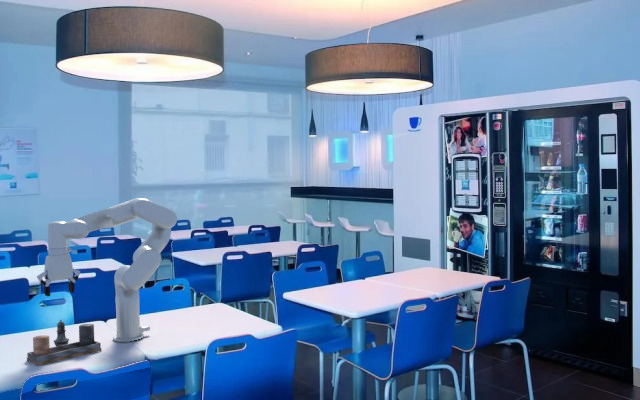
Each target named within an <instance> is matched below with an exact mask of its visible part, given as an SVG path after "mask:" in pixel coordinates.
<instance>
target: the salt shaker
mask: <svg viewBox="0 0 640 400" xmlns="http://www.w3.org/2000/svg"><path fill="white" fill-rule="evenodd" d="M56 327H57V328H56V329H57V330H56V333H57V336H56V339H54V340H53V344H54V346H55V347H56V346H61V345H65V344H69V341H70V339H69V338H67V337H66V331H67V330H66V328H65V327H66V326H65V322H64V321H62V320H61V319H60V321H59V322H58V323H57V325H56Z"/></svg>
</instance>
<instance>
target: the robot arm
mask: <svg viewBox="0 0 640 400" xmlns="http://www.w3.org/2000/svg"><path fill="white" fill-rule="evenodd" d="M138 219H141V220H144V221H145V222H148V223H150V224H152V228H151V232H150V234H148V236H147V238H146V239H144V241H143V242H142V244H140V245H139V247H138V248H137V249H135V251H134V252H133V255H132V261H133V262H132V263H131V265H129V264H128V265H127V264H125V265H121V266H119V267H118V268H117V269H116V271H115V273H114V278H113V279H114V280H113V282H114V289H115V311H116V312H115V313H116V314H115V315H116V317H115V319H116V320H115V321H116V334H115V335H113V337H112V341H114V342H118V343H131V342H130V341H132V342H135V341H134V340H137V341H139V340H138V339H140V340H142V339H143V338H144V332H149V331H150V330H151V327H150V326H149V325H147V326H141V324H140V323H141V322H140V291H139V289H141V288H142V287H143V286H144V285H145V284H146V283H147V281H149V279H150V278H151V277H152V276H153V274H154V273H155V272H156V270H157V269H158V268H159V266H160V265H161V262H162V255H161V252H163V250H164V249H165V248H166V247H167V245H168V243H169V242H170V240H171V236H172V235H171V234H172V228H173V227H175V226H176V224H177V223H178V222H177V221H178V216H177V214H176V213H175V211H173V210H172V209H170V208H167V207H165V206H163V205H161V204H158V203H156V202H154V201H151V200H149V199H147V198H140V197H136V198H133V199H132V198H131V199H130V200H127V201H123V202H121V203H118V204H116V205H113V206H110V207H107V208H102V209H100V210H97V211H95V212H91V213H87V214H85V215H81V216H79V217H76V218H73V219H71V220H69V221H67V222H66V221H63V220H62V221H50V222H49V223H47V245H48V246H47V248H48V249H47V250H48V255H46V256H45V260H44V271H43V272H41V273H40V274H37V275H36V278H37V280H38V282H39V283H40V285H42V286H43V293H44V295H45V297H51V286H50V284H51V283H52V282H55V281H56V282H57V281H64V280H68V292H69V293H72V294H73V293H75V289H76V287H75V283H76V281H77V280H78V279H79V277H80V275H81V271H80V270H78V269H75V268H73V261H72V257H71V254H70V252H72V251H73V249H72V248H71V247H69V239H72V240H73V239H74V240H81V239H85V238H86V237H88V235H89V233H91V232H95V231H98V230H102V229H110V228H116V227H118V226H121V225H123V224H126V223H129V222H133V221H135V220H138ZM74 273H75V275H74ZM73 275H74V276H73ZM43 278H44V279H43ZM141 338H142V339H141Z"/></svg>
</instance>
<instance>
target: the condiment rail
mask: <svg viewBox="0 0 640 400" xmlns="http://www.w3.org/2000/svg"><path fill="white" fill-rule="evenodd" d="M94 325H95V324H93V323H84V324H80V325H78V335H79V336H78V339H79V341H75V342H70V343H68V344H65V345H61V346H56V345H55V346H52V347H51V345H50V335H47V334H45V335H42V334H40V335H36V336H33V337H32V341H33V342H32V345H33V347H32V349H33V350H32V351H29V352H27V357H26V362H29V363H31V364H34V365H35V366H37V367H39V366H43V365H50V364H53V363H57V362H62V361H65V360H69V359H74V358H78V357H82V356H86V355H90V354H95V353H99V352H98V351H100V352H102V347H101V342H99V341H96V340H95V326H94Z"/></svg>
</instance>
